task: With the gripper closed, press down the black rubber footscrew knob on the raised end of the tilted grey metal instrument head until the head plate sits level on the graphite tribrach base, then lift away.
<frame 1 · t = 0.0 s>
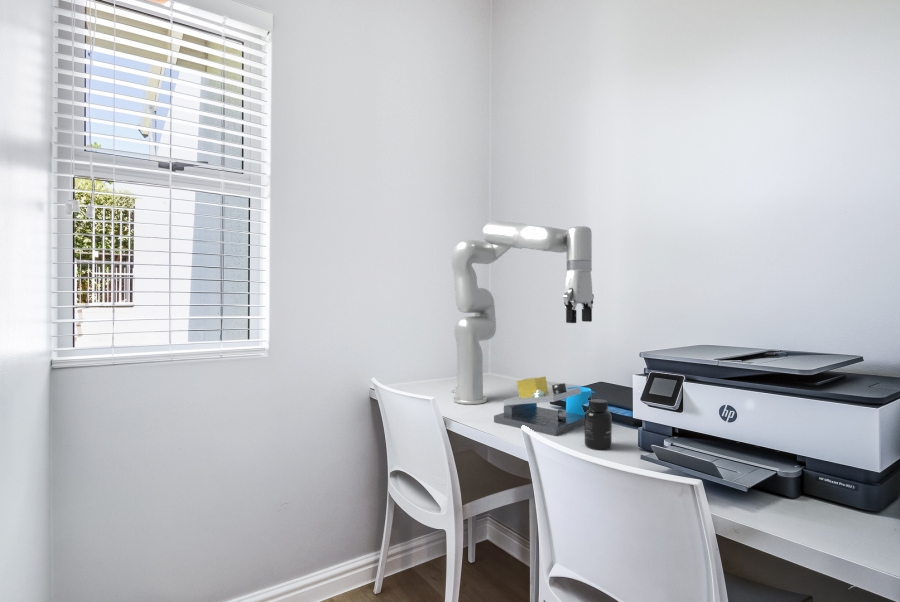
hand: (579, 322, 149), 31 cm above the table, fingers open, 9 cm apart
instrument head: (540, 388, 150), point 11 cm above the table, hinge at 12.0°
supplement bottle: (598, 447, 127), on the table
mug: (583, 413, 162), on the table
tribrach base: (540, 422, 150), on the table
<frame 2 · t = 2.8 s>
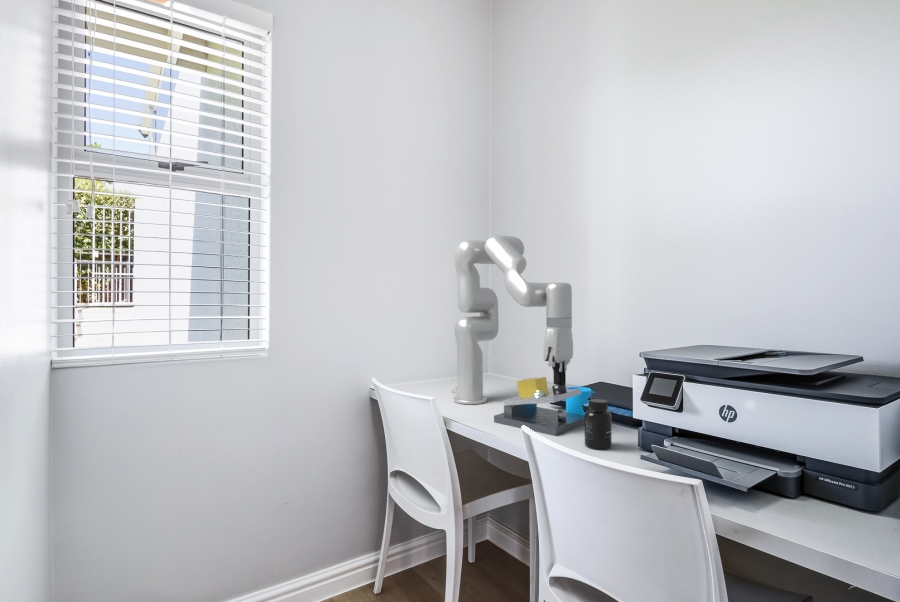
hand: (559, 384, 145), 13 cm above the table, fingers closed
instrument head: (541, 388, 150), point 10 cm above the table, hinge at 11.2°, touching gripper
everything else where it was.
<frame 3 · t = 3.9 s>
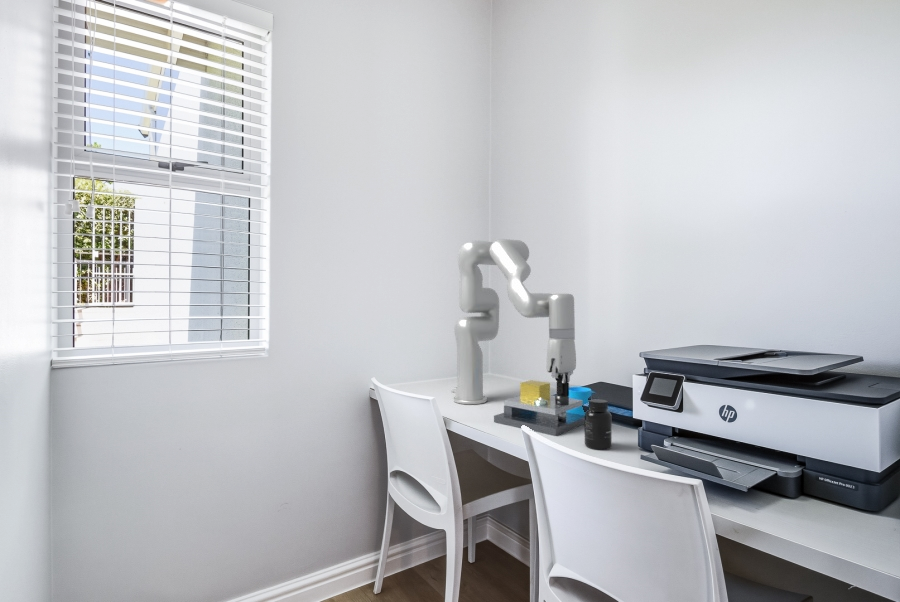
hand: (562, 395, 145), 9 cm above the table, fingers closed
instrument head: (543, 394, 149), point 9 cm above the table, hinge at -0.2°, touching gripper
everything else where it was.
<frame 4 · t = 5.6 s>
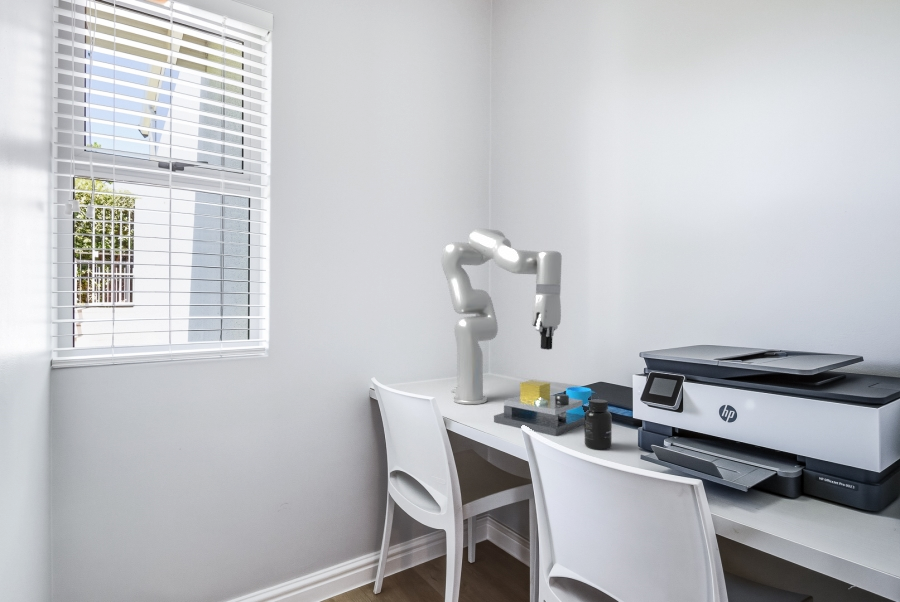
hand: (546, 348, 152), 23 cm above the table, fingers closed
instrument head: (543, 394, 149), point 9 cm above the table, hinge at -0.2°
everything else where it was.
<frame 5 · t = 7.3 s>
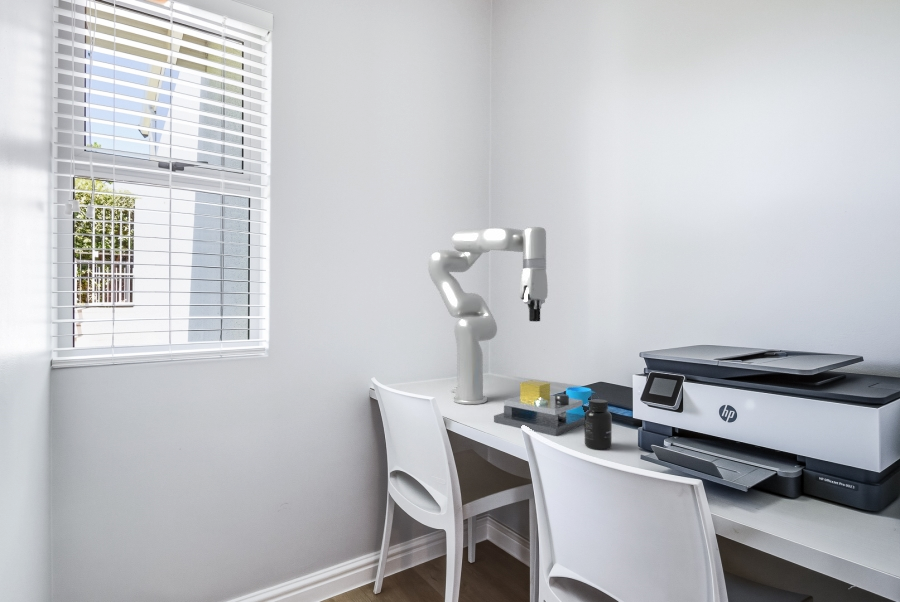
hand: (534, 321, 158), 31 cm above the table, fingers closed
nothing on the table moved.
at the end: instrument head at +0° (first picture: +12°) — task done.
